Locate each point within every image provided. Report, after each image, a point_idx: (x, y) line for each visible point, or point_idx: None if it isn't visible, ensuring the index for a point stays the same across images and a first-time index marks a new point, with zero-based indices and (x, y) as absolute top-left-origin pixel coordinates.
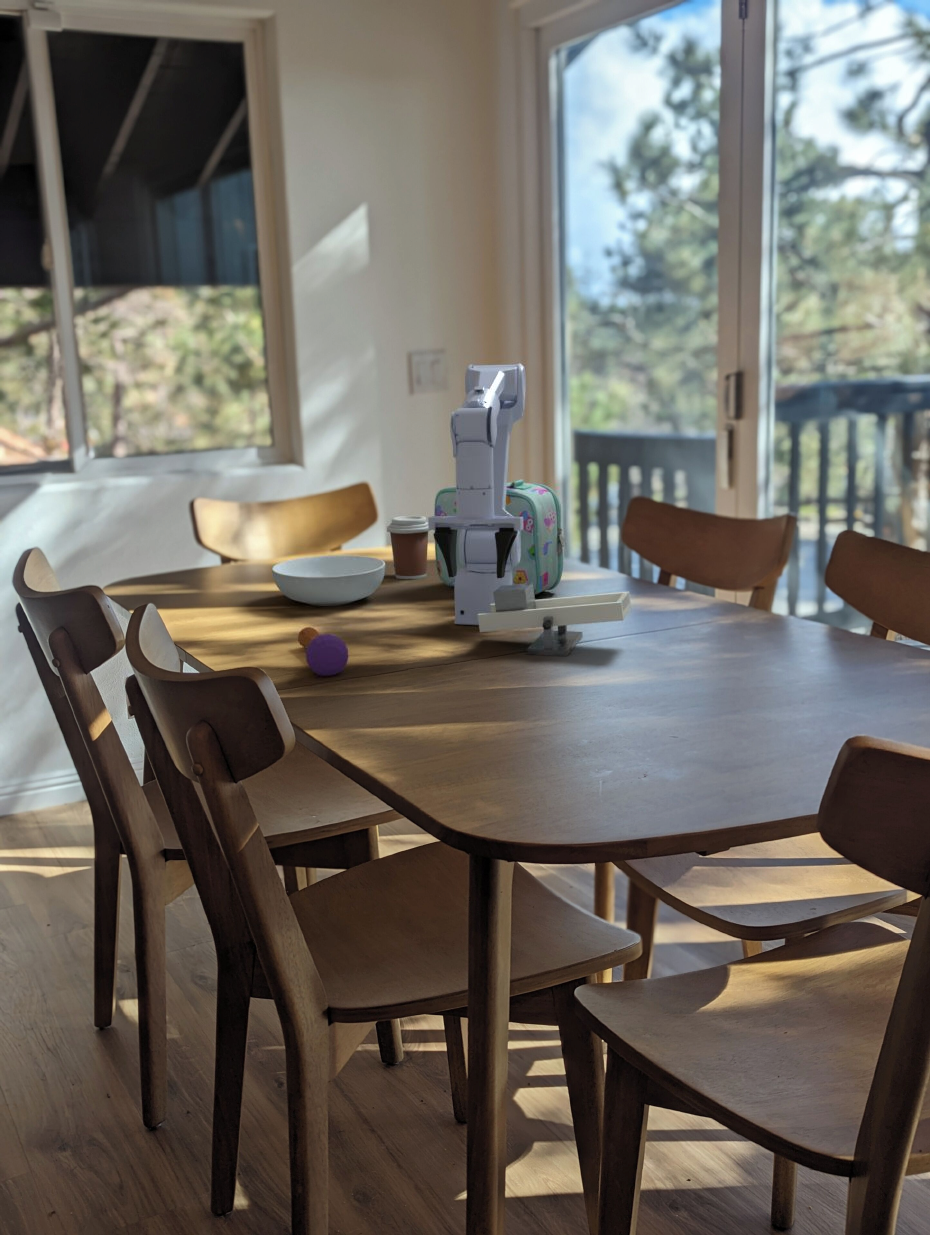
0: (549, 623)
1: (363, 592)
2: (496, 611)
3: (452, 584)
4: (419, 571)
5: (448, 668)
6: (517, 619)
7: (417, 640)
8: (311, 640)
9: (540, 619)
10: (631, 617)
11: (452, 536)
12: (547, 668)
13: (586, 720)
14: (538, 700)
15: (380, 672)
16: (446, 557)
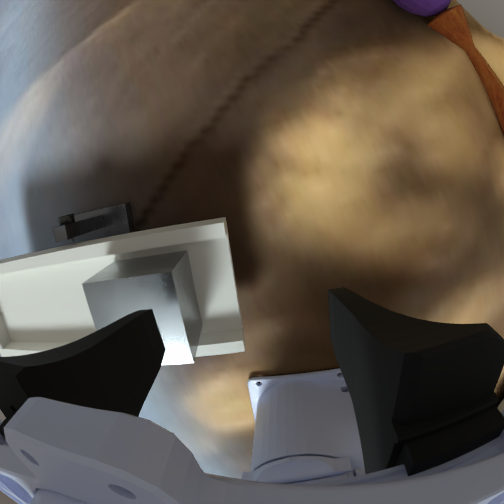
0: (58, 217)
1: (502, 405)
2: (181, 256)
3: None
4: None
5: (230, 57)
6: (126, 235)
7: (386, 238)
8: (498, 78)
9: (82, 243)
10: None
11: (379, 435)
12: (76, 133)
13: (27, 5)
14: (64, 13)
15: (336, 10)
16: (373, 312)
